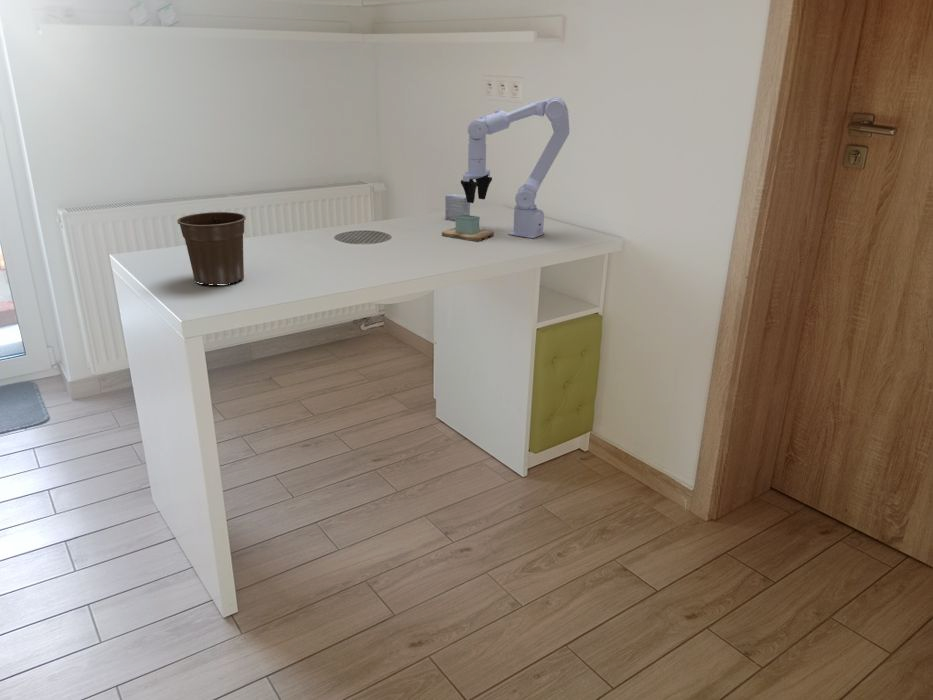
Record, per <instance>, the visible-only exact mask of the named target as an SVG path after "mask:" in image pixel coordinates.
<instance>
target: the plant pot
mask: <svg viewBox="0 0 933 700" xmlns="http://www.w3.org/2000/svg"><path fill="white" fill-rule="evenodd" d="M246 218H247V217H246V215H245V214H242V213H238V212H227V211H211V212H199V213H194V214H189V215H184V216H182V217H179V218H178V219H177V224H179V227H180V230H181V234H182V237H183V238H184V242H185V245H186V250H187V253H188V258H189V262H190V266H191V267H190V268H191V269H192V274H193V279H194V282H195V281H196V282H199V283H203V284H204V285H207V284H213V285H217V284H229V283H233V284H235V283H234V282H237V283H238V282H239V281H243V280H244V278H245V272H244V270H245V265H244V233H245V221H246ZM242 279H243V280H242ZM196 282H195V283H196ZM229 285H230V284H229Z"/></svg>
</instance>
